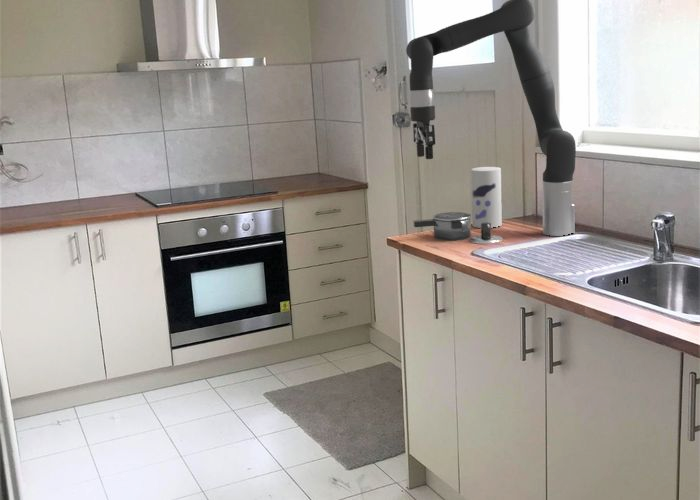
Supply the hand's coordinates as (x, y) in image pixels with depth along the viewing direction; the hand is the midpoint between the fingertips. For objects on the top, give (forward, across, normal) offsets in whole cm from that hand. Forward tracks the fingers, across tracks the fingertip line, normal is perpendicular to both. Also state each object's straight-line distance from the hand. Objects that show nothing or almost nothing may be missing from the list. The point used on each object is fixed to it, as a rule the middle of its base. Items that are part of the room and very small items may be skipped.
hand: (425, 157), depth 242 cm
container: (+28, +17, -27) cm, 42 cm away
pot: (+28, +6, -7) cm, 29 cm away
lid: (+28, -4, -18) cm, 33 cm away
